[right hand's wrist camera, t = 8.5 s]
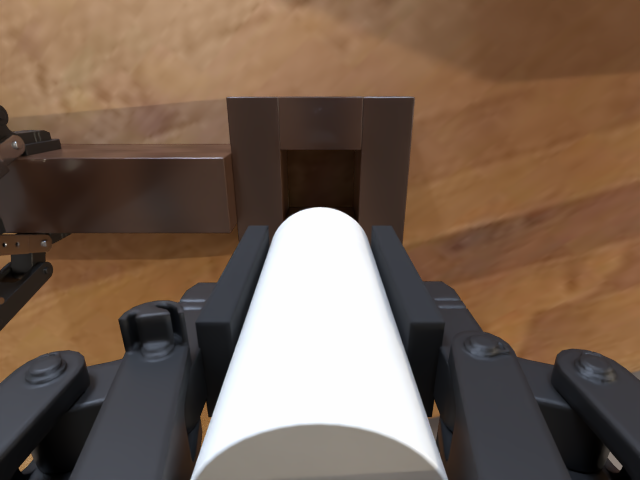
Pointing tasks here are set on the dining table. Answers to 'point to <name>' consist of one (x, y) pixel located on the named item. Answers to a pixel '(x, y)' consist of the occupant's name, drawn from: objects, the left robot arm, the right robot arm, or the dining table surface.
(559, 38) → the dining table surface
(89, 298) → the dining table surface
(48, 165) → the peg stand
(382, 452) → the peg
